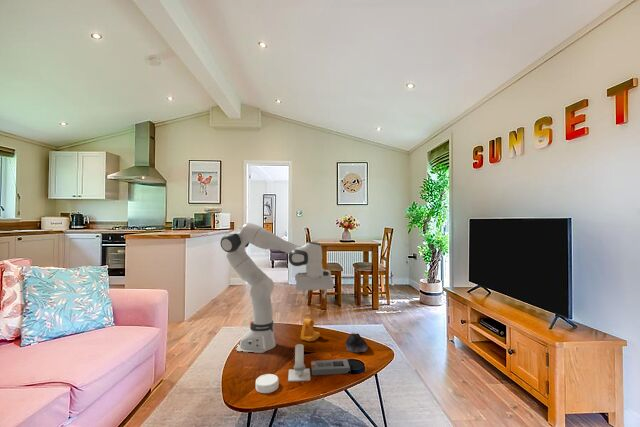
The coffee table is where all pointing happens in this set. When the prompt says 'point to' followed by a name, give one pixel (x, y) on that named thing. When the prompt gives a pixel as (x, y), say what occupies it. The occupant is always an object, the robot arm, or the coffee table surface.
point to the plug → (299, 360)
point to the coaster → (267, 383)
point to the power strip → (330, 367)
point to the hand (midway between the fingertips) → (315, 298)
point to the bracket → (309, 330)
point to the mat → (294, 378)
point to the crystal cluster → (356, 343)
